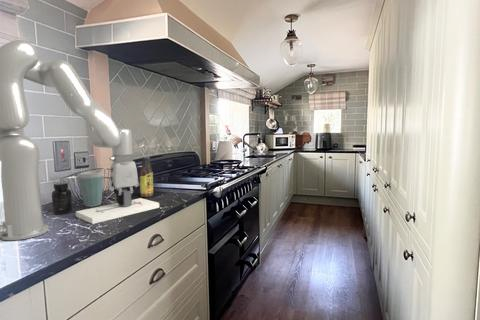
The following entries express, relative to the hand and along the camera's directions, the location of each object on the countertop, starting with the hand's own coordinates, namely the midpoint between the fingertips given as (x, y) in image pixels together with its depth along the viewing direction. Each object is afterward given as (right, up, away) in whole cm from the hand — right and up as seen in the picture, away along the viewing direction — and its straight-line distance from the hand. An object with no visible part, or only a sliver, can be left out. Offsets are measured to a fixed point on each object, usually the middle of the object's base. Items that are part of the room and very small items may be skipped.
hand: (124, 202), depth 120 cm
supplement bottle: (-24, -4, -2) cm, 25 cm away
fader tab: (0, -1, 0) cm, 1 cm away
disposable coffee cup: (-18, -3, +10) cm, 21 cm away
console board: (-1, -3, -1) cm, 4 cm away
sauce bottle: (+1, -1, +26) cm, 26 cm away
